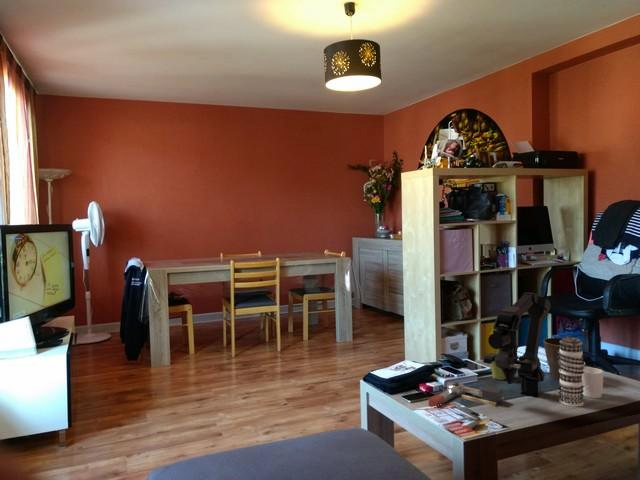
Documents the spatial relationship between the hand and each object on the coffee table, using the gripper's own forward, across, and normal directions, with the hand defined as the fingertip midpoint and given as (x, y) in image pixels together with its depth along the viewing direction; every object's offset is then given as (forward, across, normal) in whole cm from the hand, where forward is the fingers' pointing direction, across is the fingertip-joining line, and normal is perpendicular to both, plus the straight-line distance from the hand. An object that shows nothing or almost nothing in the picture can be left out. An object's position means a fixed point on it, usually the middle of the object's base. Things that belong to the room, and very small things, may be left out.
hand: (509, 384), depth 192 cm
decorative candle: (+9, +16, +18) cm, 26 cm away
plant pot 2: (+9, +4, +46) cm, 47 cm away
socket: (+9, -7, 0) cm, 11 cm away
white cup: (+9, +20, +31) cm, 38 cm away
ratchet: (+8, -19, -8) cm, 22 cm away
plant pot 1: (+9, -16, +29) cm, 34 cm away
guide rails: (+8, -11, 0) cm, 14 cm away
